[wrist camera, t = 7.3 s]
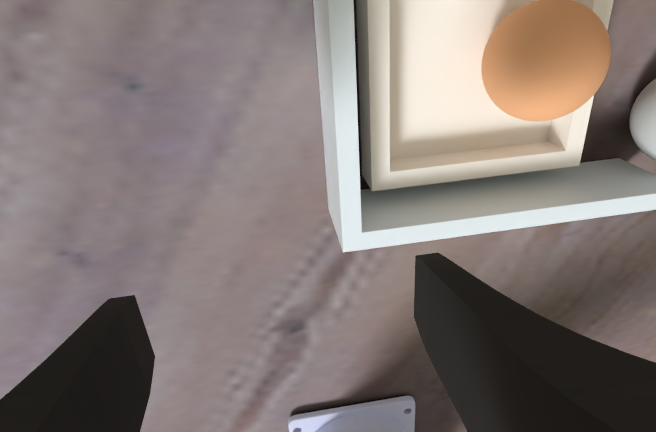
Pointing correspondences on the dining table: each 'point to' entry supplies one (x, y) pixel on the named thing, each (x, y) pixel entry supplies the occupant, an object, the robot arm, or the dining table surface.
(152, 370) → the robot arm
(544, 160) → the ceramic dish
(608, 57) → the terracotta ball
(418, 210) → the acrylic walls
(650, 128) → the grey ball
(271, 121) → the dining table surface
